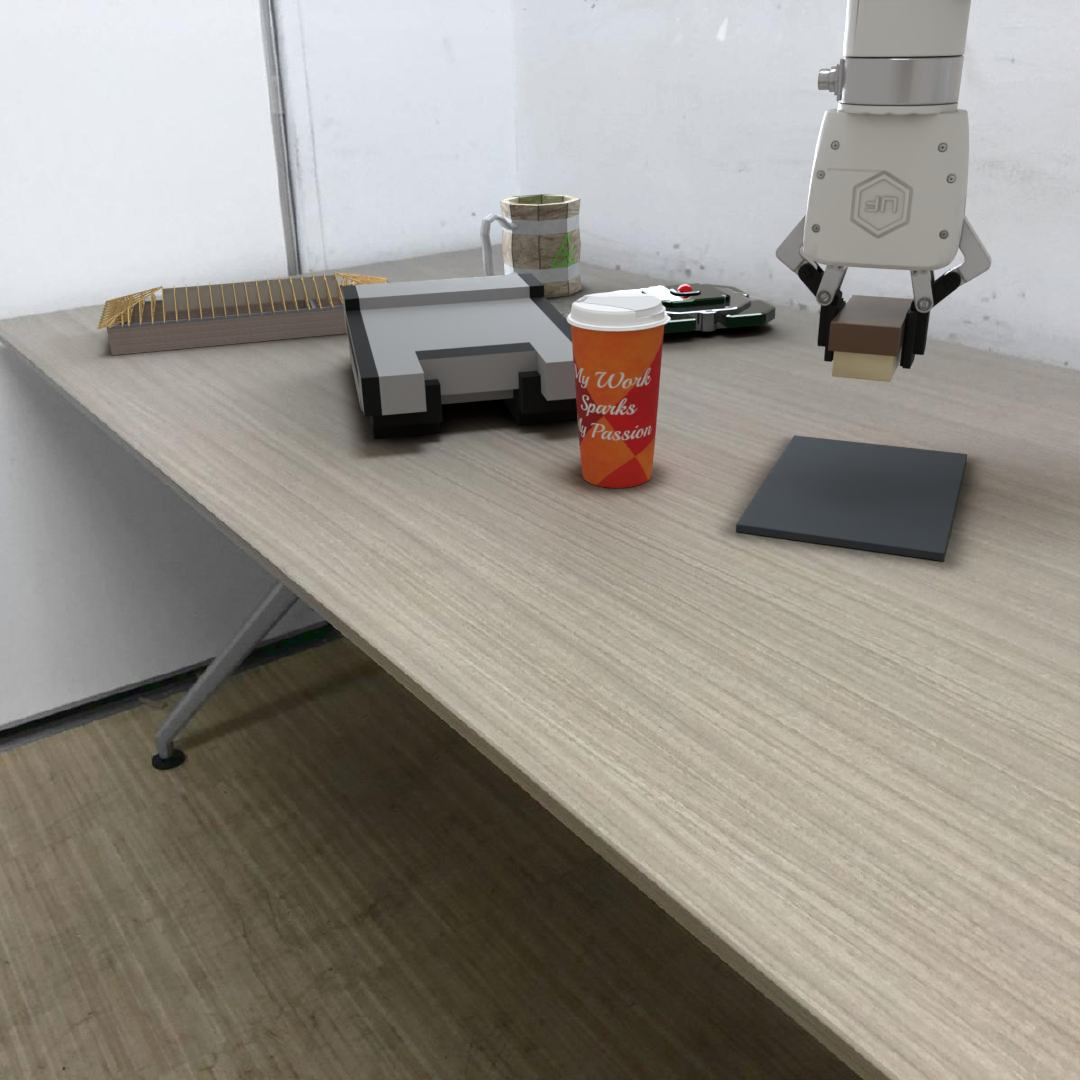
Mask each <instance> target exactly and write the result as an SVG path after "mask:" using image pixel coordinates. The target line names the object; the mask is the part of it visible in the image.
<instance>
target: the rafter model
mask: <svg viewBox="0 0 1080 1080" xmlns="http://www.w3.org/2000/svg"><path fill="white" fill-rule="evenodd" d="M337 275H338V276H340V277H341V280H340V282H339V279H338V277H337ZM379 283H391V282H390V281H389V279H387V277H381V276H371V275H363V274H354V273H345V272H338V271H337V272H336V271H335V272H334V273H333V274H327V275H326V274H325V273H323V274H322V275H314V274H313V273H312V274H311V276H303V275H300V277H292V276H291V275H289V277H288V278H280V276H278V278H277V279H269V277H266V280H257V279H255V280H253V281H252V280H251V281H246V280H245V279H243V281H241V282H234V280H232V281H231V282H230V283H227V282H226V283H222V282H220V283H215V284H211V282H208V284H205V285H204V284H203V285H199V283H198V282H197V284H196V285H193V286H192V285H191V286H187V284H185V286H179V287H175V285H174V284H173V287H166V288H165V287H163V286H158V287H154V288H150V289H146V290H142V291H138V292H135V293H131V294H128V295H124V296H120V297H115V298H113V299H109V300H108V299H107V300H105V302H104V305H103V308H102V309H103V310H102V313H101V315H100V319H99V321H98V324H97V327H96V328H97V330H101V329H104V328H105V329H106V331H107V338H108V342H109V348H110V353H111V356H119V355H129V354H130V355H131V354H139V353H151V352H152V353H153V352H160V351H172V350H183V349H193V348H204V347H214V346H225V345H226V346H227V345H236V344H246V343H247V344H248V343H257V342H267V341H279V340H289V339H300V338H310V337H311V338H313V337H320V336H321V337H323V336H332V335H333V336H334V335H343V334H347V332H346V327H345V317H344V307H343V297H342V287H341V286H349V285H364V284H379ZM159 290H161V298H162V299H157V296H156V294H155V293H156V292H158V291H159ZM149 297H150V300H146V299H147V298H149Z"/></svg>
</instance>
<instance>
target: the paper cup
mask: <svg viewBox="0 0 1080 1080" xmlns="http://www.w3.org/2000/svg"><path fill="white" fill-rule="evenodd" d="M665 310H666V308H665V307H664V306H662V302H661V299H659V298H658V297H656V296H653V295H649V294H644V293H634V292H612V291H608V292H607V291H606V292H597V293H596V292H595V293H589V294H585V295H583V296H582V297H579V298H578V299H576V300H575V301H573V302H572V303H571V309H570V313H568V315H567V317H566V319H567V322H568V323H569V324H571V330H572V347H573V364H574V376H575V389H576V402H577V416H578V420H577V428H578V440H579V453H580V455H579V456H580V465H581V475H582V478H583V480H584V481H586V482H587V483H589V484H591V485H594V486H598V487H603V488H611V489H623V488H632V487H636V486H637V487H638V486H640V485H644V484H645V483H647V482H648V481H649V480H650V479H651V478H652V474H653V466H654V456H655V446H656V445H655V444H656V432H657V422H658V411H659V409H658V408H659V399H660V398H659V397H660V396H659V395H660V383H661V368H662V358H663V357H662V356H663V346H664V334H665V333H664V324H667V323H668V322H669V321H670V317H669V316H668V315H667V313H666V312H665ZM663 333H664V334H663Z"/></svg>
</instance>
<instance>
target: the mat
mask: <svg viewBox="0 0 1080 1080" xmlns="http://www.w3.org/2000/svg"><path fill="white" fill-rule="evenodd" d="M967 461H968V454H967V453H961V452H953V451H944V450H943V451H942V450H935V449H924V448H916V447H915V448H914V447H907V446H898V445H897V446H896V445H888V444H877V443H869V442H859V441H851V440H850V441H849V440H841V439H832V438H821V437H815V436H814V437H812V436H805V435H803V436H802V435H793V436H792V437H791V439H790V441H789V443H788V444H787V445H786V447H785V448H784V450H783V452H782V453H781V455H780V457H779V458H778V459H777V461H776V463H775V464H774V466H773V467H772V469H771V470H770V472H769V473H768V475H767V476H766V478H764V481H763V482H762V484H761V486H759V489H758V490H757V492H756V493H755V494H754V496H753V498H752V499H751V501H750V502H749V504H748V506H747V507H746V509H745V510H744V511H743V513H742V515H740V518H739V519H738V521H737V522H736V524H735V533H736V532H737V533H744V534H751V535H758V536H764V537H772V538H779V539H786V540H792V541H798V542H799V541H800V542H807V543H814V544H819V545H820V544H821V545H828V546H833V547H834V546H835V547H841V548H847V549H848V548H849V549H855V550H856V549H857V550H862V551H868V552H869V551H870V552H877V553H883V554H890V555H898V556H905V557H912V558H917V559H918V558H920V559H925V560H933V561H939V562H940V561H941V562H944V561H945V558H946V553H947V548H948V544H949V539H950V535H951V531H952V525H953V522H954V518H955V513H956V508H957V504H958V500H959V496H960V490H961V486H962V483H963V478H964V474H965V469H966V465H967Z"/></svg>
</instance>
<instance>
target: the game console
mask: <svg viewBox="0 0 1080 1080" xmlns="http://www.w3.org/2000/svg"><path fill="white" fill-rule="evenodd" d="M341 287H342V297H343V307H344V317H345V327H346V332H347V333H346V336H347V341H348V350H349V358H350V364H351V368H352V369H351V370H352V373H353V378H354V383H355V388H356V389H355V390H356V392H357V397H358V403H359V407H360V411H361V412H362V413H363V416H364V417H365V418H367V417H368V419H369V424H370V429H371V433H372V438H373V439H383V438H393V437H405V436H414V435H427V434H437V433H441V423H443V422H444V419H443V406H442V405H449V404H450V405H451V404H460V403H470V402H471V403H472V402H483V401H494V400H496V401H497V400H503V402H504V403H505V405H506V407H507V408H508V410H509V412H510V413H511V415H512V417H513V418H514V420H515V422H516V424H517V426H523V425H533V424H534V425H535V424H536V425H537V424H546V423H557V422H567V421H578V416H577V402H576V389H575V376H574V364H573V347H572V330H571V324H569V323H568V322H567V317H565V316H564V315H563V314H562V313H561V312H560V311H559V310H558V309H557V308H556V307H555V306H554V305H553V304H552V302H550V301H549V300H548V298H545V297H544V285H543V284H542V283H541V282H540V281H539V280H538V279H537V278H536V277H535V276H534V275H533V274H531V273H526V274H511V275H505V274H499V275H494V276H485V275H484V276H482V275H481V276H473V277H472V276H471V277H470V276H469V277H453V278H438V279H423V280H409V281H394V282H390V283H387V282H386V283H379V284H364V285H349V286H341Z"/></svg>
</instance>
